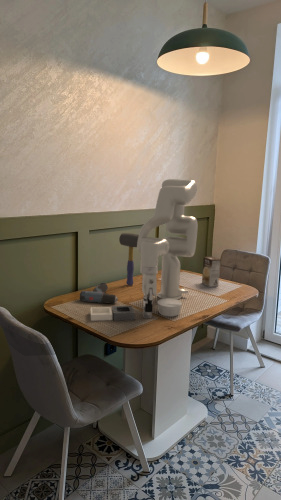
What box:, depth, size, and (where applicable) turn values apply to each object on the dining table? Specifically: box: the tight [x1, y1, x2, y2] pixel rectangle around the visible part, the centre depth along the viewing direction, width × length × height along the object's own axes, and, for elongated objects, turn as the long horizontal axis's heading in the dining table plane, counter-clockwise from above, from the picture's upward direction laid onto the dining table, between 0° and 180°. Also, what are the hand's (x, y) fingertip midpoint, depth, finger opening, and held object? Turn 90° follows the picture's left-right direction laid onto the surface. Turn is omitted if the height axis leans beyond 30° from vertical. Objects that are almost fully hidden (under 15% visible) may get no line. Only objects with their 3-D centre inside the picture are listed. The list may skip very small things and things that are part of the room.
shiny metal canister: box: [142, 295, 153, 319], centre depth 157 cm, size 4×4×9 cm
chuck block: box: [111, 305, 136, 322], centre depth 157 cm, size 9×9×3 cm
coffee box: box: [201, 256, 221, 288], centre depth 211 cm, size 9×6×16 cm
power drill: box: [79, 282, 119, 304], centre depth 181 cm, size 5×19×20 cm
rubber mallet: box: [119, 232, 139, 287], centre depth 201 cm, size 12×8×30 cm, turn 58°
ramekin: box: [156, 298, 183, 317], centre depth 163 cm, size 11×11×5 cm
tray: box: [89, 306, 113, 322], centre depth 156 cm, size 9×9×3 cm
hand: (147, 309), depth 157 cm, fingers closed on shiny metal canister, 4 cm apart
